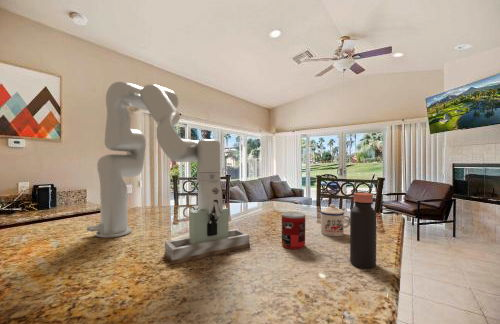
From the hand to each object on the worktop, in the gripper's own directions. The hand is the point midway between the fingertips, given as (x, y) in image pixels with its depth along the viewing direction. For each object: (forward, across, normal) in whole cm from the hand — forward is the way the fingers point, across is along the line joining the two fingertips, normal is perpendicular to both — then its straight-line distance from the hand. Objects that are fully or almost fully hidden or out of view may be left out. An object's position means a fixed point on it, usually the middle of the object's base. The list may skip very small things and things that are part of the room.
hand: (209, 233), depth 81 cm
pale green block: (+2, 0, 0) cm, 2 cm away
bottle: (+6, -34, -32) cm, 47 cm away
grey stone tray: (+6, 0, 0) cm, 6 cm away
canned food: (+6, -12, -26) cm, 29 cm away
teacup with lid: (+6, -11, -50) cm, 52 cm away
